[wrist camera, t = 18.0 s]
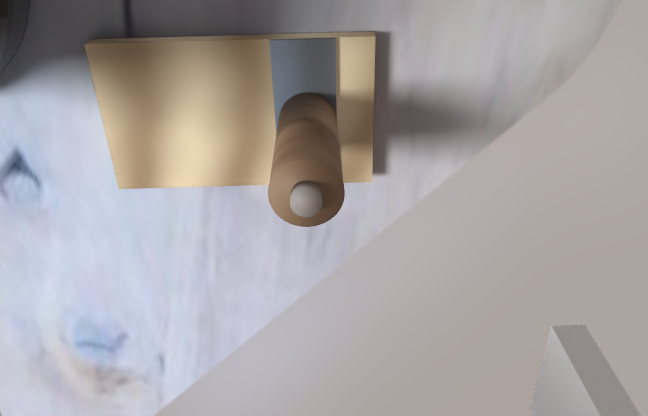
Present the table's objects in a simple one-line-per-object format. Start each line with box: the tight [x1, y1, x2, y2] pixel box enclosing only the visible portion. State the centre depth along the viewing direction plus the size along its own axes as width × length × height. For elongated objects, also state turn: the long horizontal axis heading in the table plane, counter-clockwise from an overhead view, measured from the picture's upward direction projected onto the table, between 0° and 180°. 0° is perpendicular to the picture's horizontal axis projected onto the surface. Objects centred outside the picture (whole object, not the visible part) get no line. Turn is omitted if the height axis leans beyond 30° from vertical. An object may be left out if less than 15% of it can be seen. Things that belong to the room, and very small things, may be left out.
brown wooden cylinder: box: [268, 92, 345, 227], centre depth 28 cm, size 3×3×10 cm
